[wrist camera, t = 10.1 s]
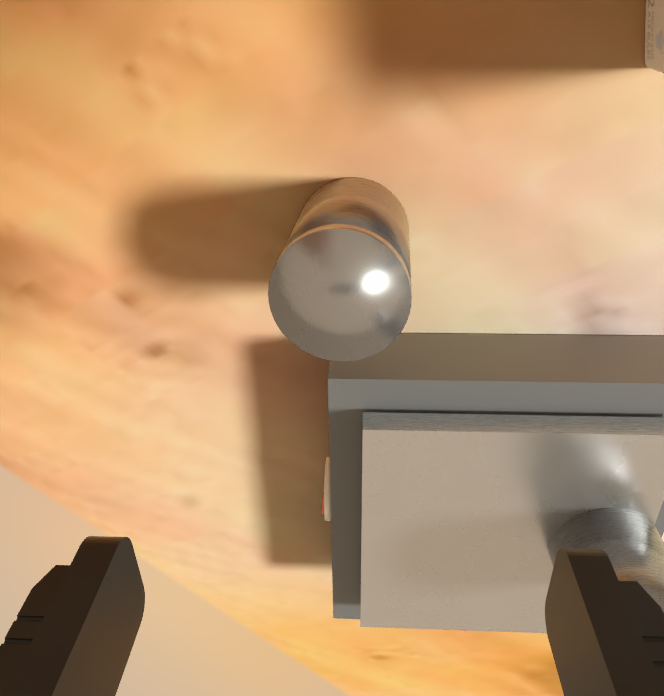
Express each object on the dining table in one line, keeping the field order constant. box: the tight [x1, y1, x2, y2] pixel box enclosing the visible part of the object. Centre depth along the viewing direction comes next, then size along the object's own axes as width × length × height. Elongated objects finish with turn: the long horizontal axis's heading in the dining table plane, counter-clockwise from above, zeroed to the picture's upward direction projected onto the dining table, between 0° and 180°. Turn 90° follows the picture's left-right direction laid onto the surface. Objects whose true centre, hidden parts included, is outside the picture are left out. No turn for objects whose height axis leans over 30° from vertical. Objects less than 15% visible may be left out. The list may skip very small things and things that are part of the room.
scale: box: [321, 333, 664, 619], centre depth 31 cm, size 16×16×4 cm
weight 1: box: [268, 178, 411, 361], centre depth 24 cm, size 5×5×7 cm
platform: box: [360, 412, 664, 633], centre depth 29 cm, size 13×13×1 cm
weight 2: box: [549, 507, 664, 613], centre depth 25 cm, size 5×5×7 cm
